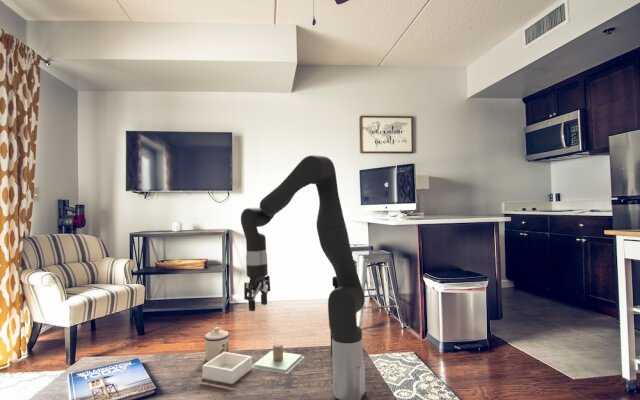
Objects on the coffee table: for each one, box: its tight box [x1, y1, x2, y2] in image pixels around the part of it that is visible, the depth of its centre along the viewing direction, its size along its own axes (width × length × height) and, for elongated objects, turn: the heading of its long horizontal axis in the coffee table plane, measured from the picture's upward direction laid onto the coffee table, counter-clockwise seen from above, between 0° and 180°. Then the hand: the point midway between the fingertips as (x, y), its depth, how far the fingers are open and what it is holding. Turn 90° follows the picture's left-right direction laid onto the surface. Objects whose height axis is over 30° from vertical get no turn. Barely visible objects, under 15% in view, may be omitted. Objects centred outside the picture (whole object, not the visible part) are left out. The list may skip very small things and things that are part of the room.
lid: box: [253, 343, 303, 372], centre depth 138 cm, size 13×13×6 cm
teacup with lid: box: [204, 326, 230, 362], centre depth 145 cm, size 12×9×12 cm
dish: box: [201, 351, 254, 385], centre depth 129 cm, size 12×12×5 cm
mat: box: [252, 355, 306, 375], centre depth 138 cm, size 15×15×1 cm
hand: (258, 307), depth 135 cm, fingers open, 8 cm apart
